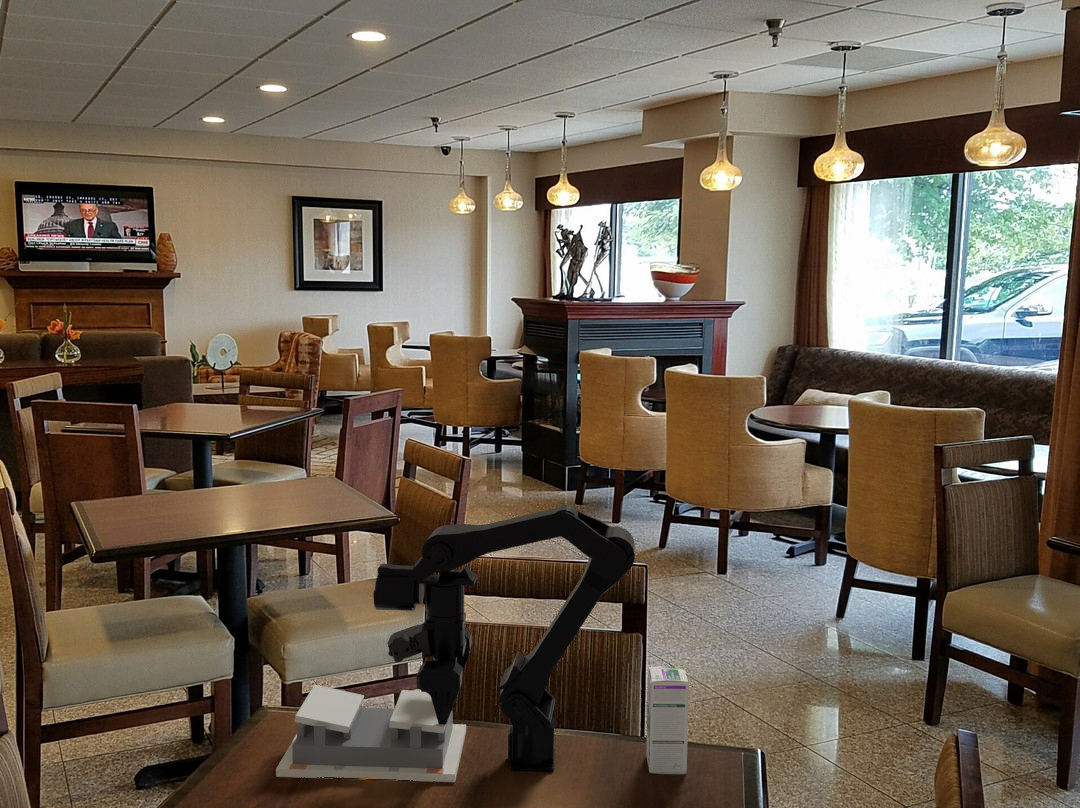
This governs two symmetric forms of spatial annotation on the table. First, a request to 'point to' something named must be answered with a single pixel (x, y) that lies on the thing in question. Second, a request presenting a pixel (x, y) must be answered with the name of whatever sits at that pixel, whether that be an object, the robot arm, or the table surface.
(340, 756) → the box
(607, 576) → the robot arm
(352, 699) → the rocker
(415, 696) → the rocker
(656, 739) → the syrup box
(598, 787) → the table surface
